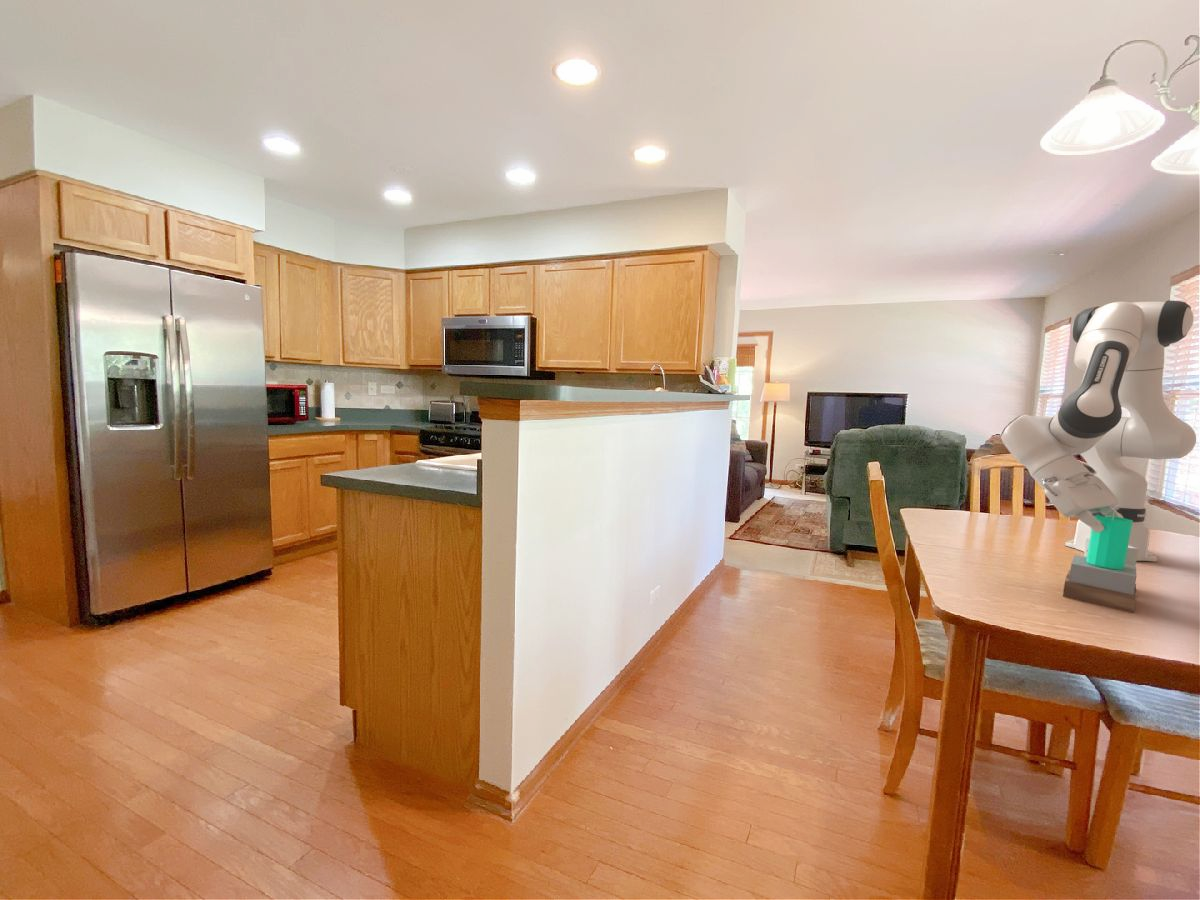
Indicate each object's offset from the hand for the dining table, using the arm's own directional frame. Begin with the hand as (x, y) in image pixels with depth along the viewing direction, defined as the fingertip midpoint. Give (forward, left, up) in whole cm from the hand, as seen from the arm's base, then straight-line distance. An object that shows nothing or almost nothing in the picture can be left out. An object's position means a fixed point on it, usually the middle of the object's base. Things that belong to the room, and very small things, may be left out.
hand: (1111, 529), depth 113 cm
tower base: (-1, 0, -16) cm, 16 cm away
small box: (-13, 0, -16) cm, 20 cm away
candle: (0, 0, -8) cm, 8 cm away
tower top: (-1, 0, -12) cm, 12 cm away
